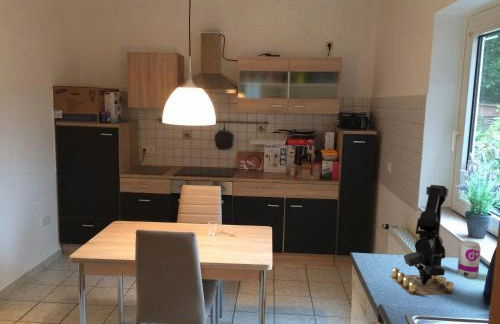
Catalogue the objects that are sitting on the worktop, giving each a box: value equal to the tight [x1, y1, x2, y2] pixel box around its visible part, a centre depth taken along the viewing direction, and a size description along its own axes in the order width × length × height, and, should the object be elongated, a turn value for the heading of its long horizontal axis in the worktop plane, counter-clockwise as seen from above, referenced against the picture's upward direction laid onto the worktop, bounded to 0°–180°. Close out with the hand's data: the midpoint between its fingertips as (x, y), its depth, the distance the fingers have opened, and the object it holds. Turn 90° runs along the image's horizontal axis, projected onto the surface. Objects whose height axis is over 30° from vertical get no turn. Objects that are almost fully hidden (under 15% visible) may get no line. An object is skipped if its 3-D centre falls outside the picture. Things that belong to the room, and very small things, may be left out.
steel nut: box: [411, 276, 426, 286], centre depth 171 cm, size 5×6×2 cm
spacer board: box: [388, 274, 457, 296], centre depth 170 cm, size 19×20×1 cm
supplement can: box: [457, 239, 481, 279], centre depth 183 cm, size 8×8×15 cm
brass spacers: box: [391, 267, 454, 295], centre depth 169 cm, size 18×18×4 cm
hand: (423, 284), depth 168 cm, fingers closed
